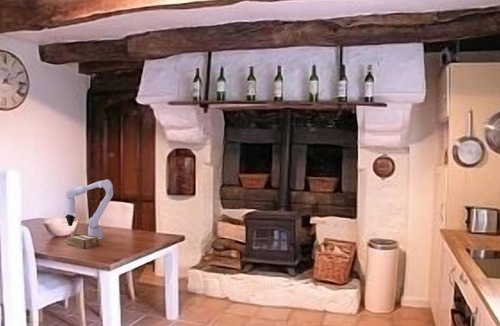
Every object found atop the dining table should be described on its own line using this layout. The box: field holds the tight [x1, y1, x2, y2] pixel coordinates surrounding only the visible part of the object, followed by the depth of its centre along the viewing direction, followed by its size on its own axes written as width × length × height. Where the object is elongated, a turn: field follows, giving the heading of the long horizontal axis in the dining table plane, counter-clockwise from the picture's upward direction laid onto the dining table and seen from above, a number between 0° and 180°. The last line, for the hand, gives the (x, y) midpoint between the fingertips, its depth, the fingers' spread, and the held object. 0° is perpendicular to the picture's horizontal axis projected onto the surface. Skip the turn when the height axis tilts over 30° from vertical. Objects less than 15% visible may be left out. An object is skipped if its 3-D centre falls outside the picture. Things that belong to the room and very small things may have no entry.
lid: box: [70, 232, 94, 240], centre depth 320 cm, size 9×16×2 cm, turn 55°
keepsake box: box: [67, 233, 99, 250], centre depth 320 cm, size 11×18×6 cm, turn 55°
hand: (70, 225), depth 334 cm, fingers closed
